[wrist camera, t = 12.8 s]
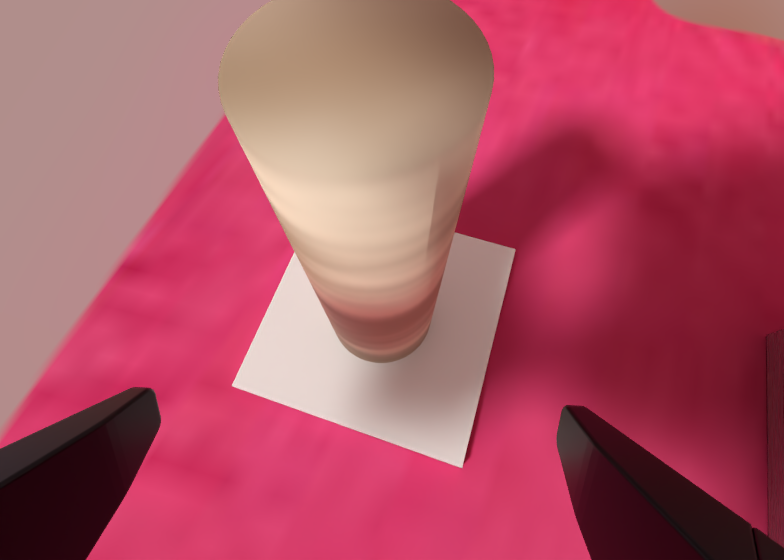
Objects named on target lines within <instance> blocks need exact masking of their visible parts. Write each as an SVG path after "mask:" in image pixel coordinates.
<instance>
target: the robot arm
mask: <svg viewBox="0 0 784 560" xmlns="http://www.w3.org/2000/svg"><path fill="white" fill-rule="evenodd" d="M160 423H161V416H160V412H159V407H158V403H157V399H156V394H155V392H154V390H153V389H151V388H143V387H133V388H130V389H128V390H126V391H123V392H121V393H119V394H117V395H115V396H113V397H110V398H108V399H106V400H104V401H102V402H100V403H98V404H95V405H93V406H91V407H89V408H87V409H85V410H83V411H80V412H78V413H76V414H74V415H72V416H70V417H67V418H65V419H63V420H61V421H59V422H57V423H55V424H52V425H50V426H48V427H46V428H44V429H42V430H40V431H37V432H35V433H33V434H31V435H29V436H27V437H24V438H22V439H20V440H18V441H16V442H14V443H12V444H9V445H7V446H5V447H3V448H1V449H0V560H86V559H87V557H88V555H89V554H90V552H91V551H92V549H93V547H94V546H95V544H96V542H97V541H98V539H99V538H100V536H101V534H102V533H103V531H104V530H105V528H106V526H107V525H108V523H109V522H110V520H111V518H112V517H113V515H114V514H115V512H116V510H117V509H118V507H119V505H120V504H121V502H122V500H123V499H124V497H125V495H126V494H127V492H128V490H129V488H130V486H131V484H132V482H133V480H134V478H135V476H136V474H137V472H138V470H139V468H140V466H141V464H142V462H143V460H144V458H145V456H146V454H147V452H148V450H149V448H150V446H151V444H152V442H153V440H154V438H155V436H156V434H157V432H158V430H159V427H160ZM557 448H558V452H559V455H560V459H561V463H562V467H563V471H564V475H565V478H566V482H567V486H568V490H569V494H570V498H571V502H572V505H573V509H574V512H575V516H576V519H577V522H578V525H579V527H580V530H581V533H582V535H583V538H584V541H585V543H586V546H587V549H588V551H589V554H590V557H591V559H592V560H784V547H782V546H781V545H779V544H778V543H777V542H775V541H774V540H772V539H771V538H770V537H768V536H767V535H765V534H764V533H763V532H761V531H760V530H758V529H757V528H752V526H751V524H750V523H748V522H747V521H745V520H744V519H743V518H741V517H740V516H738V515H737V514H736V513H734V512H733V511H731V510H730V509H729V508H727V507H726V506H724V505H723V504H722V503H720V502H719V501H717V500H716V499H714V498H713V497H712V496H710V495H709V494H707V493H706V492H705V491H703V490H702V489H700V488H699V487H698V486H696V485H695V484H693V483H692V482H691V481H689V480H688V479H686V478H685V477H683V476H682V475H681V474H679V473H678V472H676V471H675V470H674V469H672V468H671V467H669V466H668V465H667V464H665V463H664V462H662V461H661V460H660V459H658V458H657V457H655V456H654V455H652V454H651V453H650V452H648V451H647V450H645V449H644V448H643V447H641V446H640V445H638V444H637V443H636V442H634V441H633V440H631V439H630V438H629V437H627V436H626V435H624V434H623V433H621V432H620V431H619V430H617V429H616V428H614V427H613V426H612V425H610V424H609V423H607V422H606V421H605V420H603V419H602V418H600V417H599V416H598V415H596V414H595V413H593V412H592V411H590V410H589V409H588V408H586V407H584V406H574V405H566V406H565V407H563V409H562V412H561V417H560V422H559V427H558V431H557Z"/></svg>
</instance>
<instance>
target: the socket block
mask: <svg viewBox="0 0 784 560" xmlns="http://www.w3.org/2000/svg"><path fill="white" fill-rule="evenodd" d="M767 424H768V537H770V538H771V539H772V540H774V541H775V542H777V543H778V544H779V545H781V546H782V547H784V329H783V330H780V331H777V332H774V333H771V334H768V335H767Z"/></svg>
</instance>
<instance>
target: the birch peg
mask: <svg viewBox="0 0 784 560" xmlns="http://www.w3.org/2000/svg"><path fill="white" fill-rule="evenodd" d="M493 82H494V65H493V59H492V54H491V51H490V48H489V45H488V42H487V40H486V39H485V37H484V35H483V33H482V31H481V30H480V28H479V27H478V26H477V25H476V23H475V22H474V21H473V19H472V18H471V17H470V16H469V15H467V14H466V13H465V12H464V11H463V10H462V9H461V8H460V7H458V6H457V5H456V4H454V3H453V2H452V1H450V0H271V1H270V2H268V3H267V4H265V5H264V6H262V7H261V8H259V9H258V10H257V11H256V12H254V13H253V14H252V15H251V16H250V17H249V18H248V19H247V20H246V21H245V22H244V23H243V24H242V25H241V26H240V27H239V28H238V30H237V31H236V32H235V34H234V35H233V36H232V38H231V40H230V42H229V43H228V45H227V47H226V49H225V51H224V54H223V57H222V60H221V63H220V68H219V74H218V90H219V94H220V100H221V104H222V106H223V109H224V112H225V114H226V116H227V118H228V120H229V122H230V124H231V126H232V128H233V130H234V132H235V134H236V136H237V138H238V140H239V142H240V144H241V146H242V148H243V150H244V152H245V154H246V156H247V158H248V160H249V162H250V164H251V166H252V168H253V170H254V172H255V174H256V176H257V178H258V180H259V182H260V184H261V186H262V188H263V190H264V192H265V194H266V196H267V198H268V200H269V202H270V204H271V206H272V208H273V210H274V212H275V214H276V216H277V218H278V220H279V222H280V224H281V226H282V228H283V230H284V232H285V234H286V236H287V238H288V240H289V242H290V244H291V246H292V248H293V250H294V251H295V253H296V255H297V257H298V259H299V261H300V263H301V265H302V267H303V269H304V271H305V273H306V275H307V277H308V279H309V281H310V283H311V285H312V287H313V289H314V291H315V293H316V295H317V297H318V299H319V301H320V303H321V305H322V307H323V309H324V311H325V313H326V315H327V317H328V319H329V321H330V323H331V325H332V327H333V329H334V331H335V333H336V335H337V337H338V339H339V340H340V342H341V343H342V345H343V346H344V347H345V348H346V349H347V350H348V351H349V352H350V353H352V354H353V355H355V356H356V357H358V358H360V359H363V360H365V361H369V362H374V363H388V362H394V361H397V360H400V359H402V358H404V357H406V356H408V355H410V354H411V353H412V352H414V351H415V350H416V349H417V348H418V347H419V346H420V345H421V343H422V342H423V340H424V339H425V337H426V335H427V333H428V330H429V327H430V323H431V320H432V316H433V312H434V308H435V304H436V301H437V297H438V293H439V289H440V286H441V282H442V278H443V274H444V270H445V267H446V263H447V259H448V255H449V252H450V248H451V244H452V240H453V236H454V233H455V229H456V225H457V221H458V217H459V214H460V210H461V206H462V202H463V199H464V195H465V191H466V187H467V183H468V180H469V176H470V172H471V168H472V165H473V161H474V157H475V153H476V149H477V146H478V142H479V138H480V134H481V131H482V127H483V123H484V119H485V115H486V112H487V108H488V104H489V100H490V97H491V92H492V87H493Z"/></svg>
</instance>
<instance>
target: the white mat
mask: <svg viewBox="0 0 784 560" xmlns="http://www.w3.org/2000/svg"><path fill="white" fill-rule="evenodd" d="M515 250H516V249H513V248H509V247H506V246H502V245H499V244H495V243H491V242H488V241H484V240H481V239H477V238H473V237H470V236H466V235H463V234H459V233H454V236H453V240H452V244H451V248H450V252H449V255H448V259H447V263H446V267H445V270H444V274H443V278H442V282H441V286H440V289H439V293H438V297H437V301H436V304H435V308H434V312H433V316H432V320H431V323H430V327H429V330H428V333H427V335H426V337H425V339H424V340H423V342H422V343H421V345H420V346H419V347H418V348H417V349H416V350H415V351H414V352H412V353H411V354H410V355H408V356H406V357H404V358H402V359H400V360H397V361H394V362H388V363H374V362H369V361H365V360H363V359H360V358H358V357H356V356H355V355H353V354H352V353H350V352H349V351H348V350H347V349H346V348H345V347H344V346H343V345H342V343H341V342H340V340H339V339H338V337H337V335H336V333H335V331H334V329H333V327H332V325H331V323H330V321H329V319H328V317H327V315H326V313H325V311H324V309H323V307H322V305H321V303H320V301H319V299H318V297H317V295H316V293H315V291H314V289H313V287H312V285H311V283H310V281H309V279H308V277H307V275H306V273H305V271H304V269H303V267H302V265H301V263H300V261H299V259H298V257H297V255H296V253H295V252H294V254H293V256H292V258H291V261H290V263H289V265H288V267H287V269H286V271H285V273H284V275H283V278H282V280H281V282H280V284H279V286H278V288H277V290H276V293H275V295H274V297H273V299H272V301H271V303H270V305H269V308H268V310H267V312H266V314H265V316H264V318H263V320H262V322H261V325H260V327H259V329H258V331H257V333H256V335H255V337H254V340H253V342H252V344H251V346H250V348H249V350H248V352H247V355H246V357H245V359H244V361H243V363H242V365H241V367H240V369H239V372H238V374H237V376H236V378H235V380H234V382H233V384H232V386H233V387H235V388H238V389H241V390H244V391H247V392H249V393H252V394H255V395H258V396H261V397H263V398H266V399H269V400H272V401H275V402H278V403H280V404H283V405H286V406H289V407H292V408H294V409H297V410H300V411H303V412H306V413H308V414H311V415H314V416H317V417H320V418H322V419H325V420H328V421H331V422H334V423H336V424H339V425H342V426H345V427H348V428H350V429H353V430H356V431H359V432H362V433H364V434H367V435H370V436H373V437H376V438H379V439H381V440H384V441H387V442H390V443H393V444H395V445H398V446H401V447H404V448H407V449H409V450H412V451H415V452H418V453H421V454H423V455H426V456H429V457H432V458H435V459H437V460H440V461H443V462H446V463H449V464H451V465H454V466H457V467H460V468H462V466H463V462H464V458H465V454H466V450H467V446H468V442H469V438H470V434H471V430H472V426H473V421H474V417H475V413H476V409H477V405H478V401H479V397H480V393H481V389H482V385H483V381H484V377H485V373H486V368H487V364H488V360H489V356H490V352H491V348H492V344H493V340H494V336H495V332H496V328H497V324H498V319H499V315H500V311H501V307H502V303H503V299H504V295H505V291H506V287H507V283H508V279H509V275H510V270H511V266H512V262H513V258H514V254H515Z"/></svg>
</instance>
